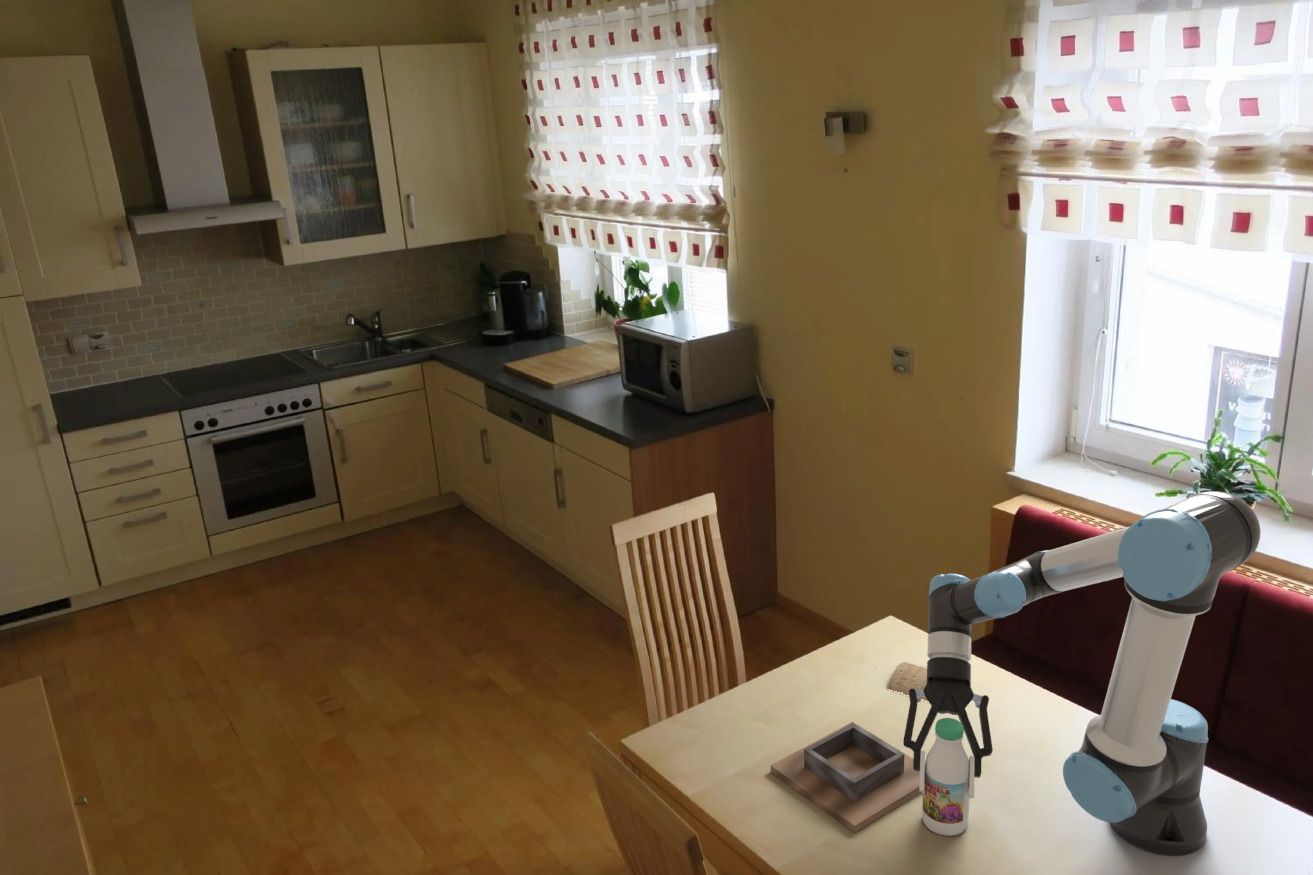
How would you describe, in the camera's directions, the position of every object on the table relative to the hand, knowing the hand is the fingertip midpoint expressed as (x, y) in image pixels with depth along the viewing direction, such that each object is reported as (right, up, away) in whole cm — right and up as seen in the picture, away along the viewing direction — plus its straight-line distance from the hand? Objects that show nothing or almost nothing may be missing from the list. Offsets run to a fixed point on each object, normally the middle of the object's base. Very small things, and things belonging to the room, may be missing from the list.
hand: (946, 793), depth 173 cm
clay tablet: (+8, +7, +49) cm, 50 cm away
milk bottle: (+1, -7, +6) cm, 9 cm away
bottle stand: (-12, -3, +19) cm, 23 cm away
